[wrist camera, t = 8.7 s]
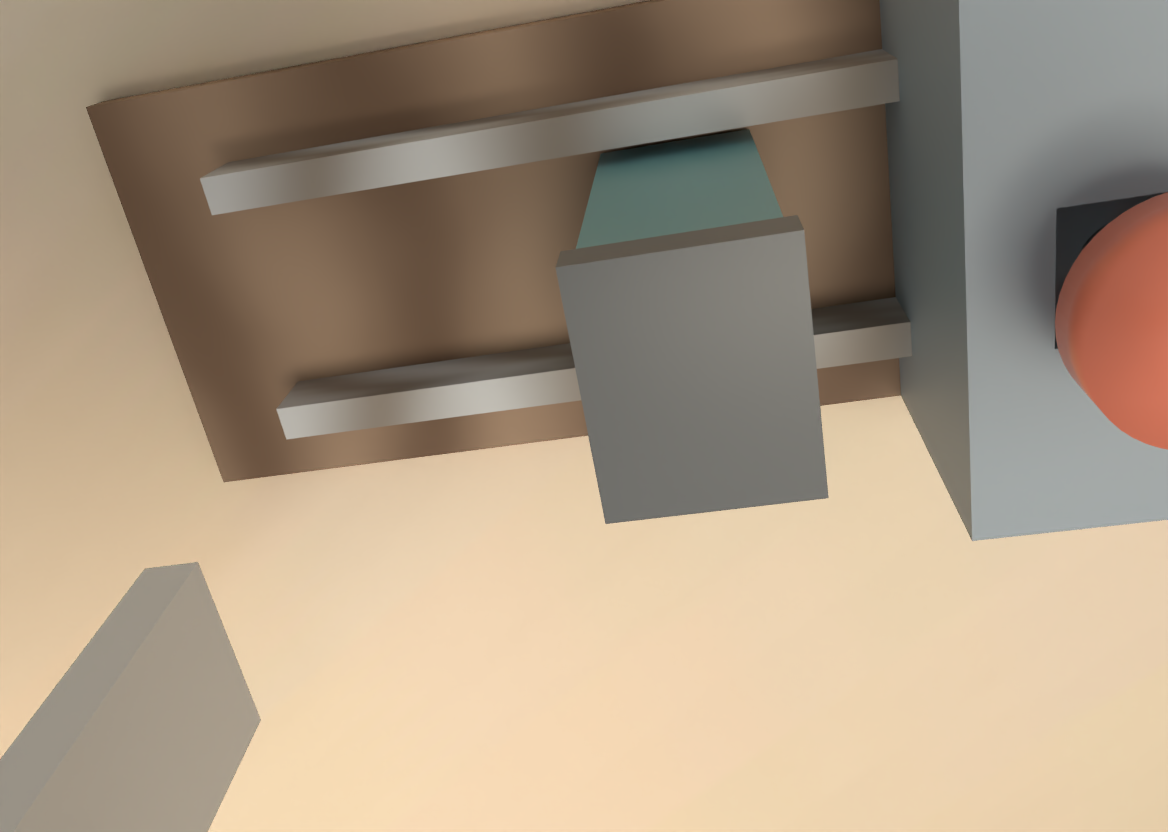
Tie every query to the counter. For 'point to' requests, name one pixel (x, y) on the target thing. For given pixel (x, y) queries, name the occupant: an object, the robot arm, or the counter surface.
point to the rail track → (482, 217)
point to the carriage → (693, 333)
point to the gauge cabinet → (1019, 243)
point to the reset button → (1121, 321)
